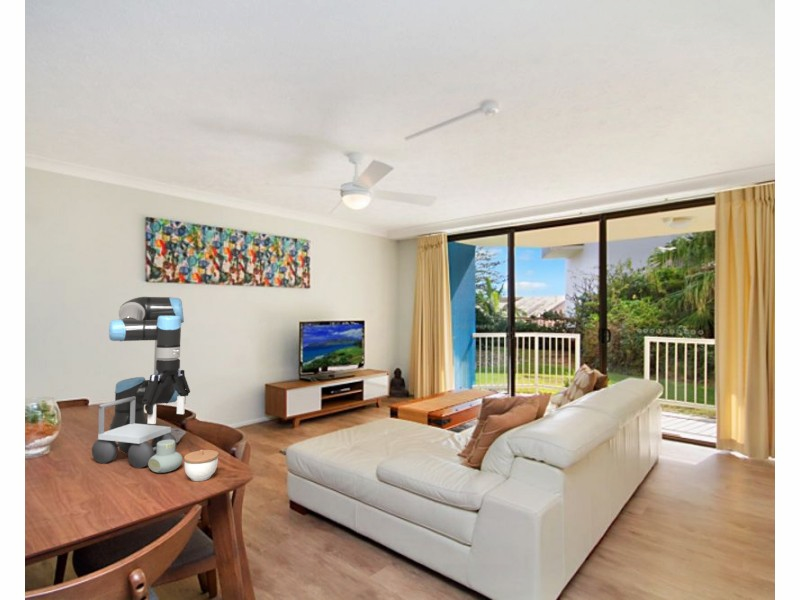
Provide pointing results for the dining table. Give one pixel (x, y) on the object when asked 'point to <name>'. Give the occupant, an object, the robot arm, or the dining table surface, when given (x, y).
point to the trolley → (128, 438)
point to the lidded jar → (201, 464)
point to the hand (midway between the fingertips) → (166, 418)
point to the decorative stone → (177, 433)
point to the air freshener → (165, 457)
